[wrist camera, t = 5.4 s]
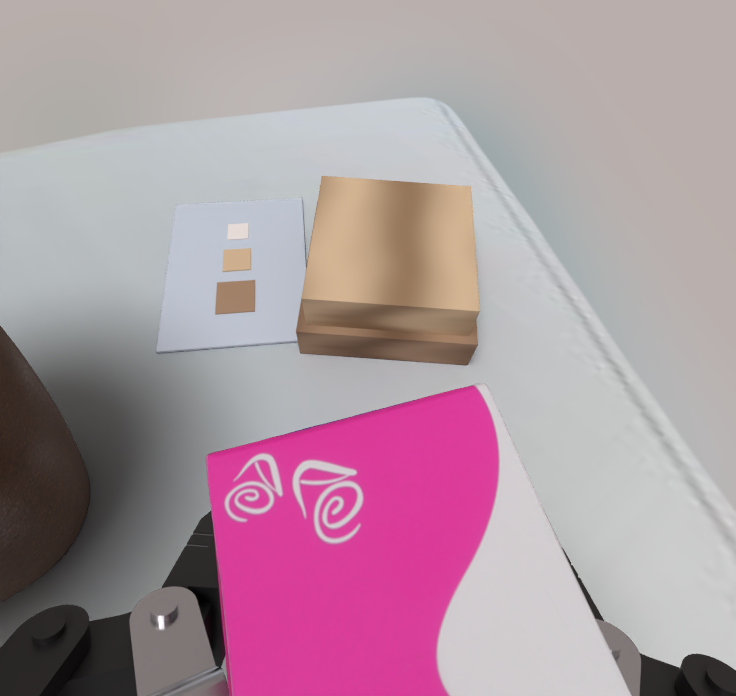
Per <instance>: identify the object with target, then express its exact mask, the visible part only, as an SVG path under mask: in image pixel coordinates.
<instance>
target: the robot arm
mask: <svg viewBox="0 0 736 696" xmlns="http://www.w3.org/2000/svg"><path fill="white" fill-rule="evenodd" d="M562 549H563V548H562ZM563 551H564V549H563ZM564 554H565V556H566V558H567V560H568V562H569V564H570V566H571V568H572V571H573V573H574V575H575V577H576V579H577V581H578V583H579V585H580V588H581V590H582V592H583V594H584V596H585V598H586V600H587V602H588V604H589V606H590V609H591V611H592V613H593V615H594V617H595V619H596V621H597V623H598V625H599V627H600V630H601V632H602V634H603V636H604V638H605V640H606V642H607V644H608V646H609V648H610V651H611V653H612V655H613V657H614V659H615V661H616V663H617V665H618V667H619V669H620V672H621V674H622V676H623V678H624V680H625V682H626V685H627V687H628V689H629V691H630V693H631V695H632V696H736V670H734V669H733V668H731V667H730V666H728V665H727V664H725V663H723V662H721V661H719V660H717V659H715V658H712V657H710V656H706V655H702V654H691V655H688V656H686V657H685V658H684V659H683V661H682V664H681V667H680V668H679V667H676V666H673V665H670V664H667V663H664V662H661V661H658V660H656V659H653V658H650V657H647V656H645V655H642V654H640V653H639V651H638V649H637V647H636V646H635V644H634V643H633V642H632V640H631V639H630V638H629V637H628V636H627V635H626V634H625V633H623V632H622V631H621V630H620V629H618V628H617V627H615V626H613V625H611V624H610V623H607V622H605V621H604V620H603V618H602V616H601V614H600V613H599V611H598V609H597V607H596V606H595V604H594V602H593V600H592V599H591V597H590V595H589V593H588V592H587V590H586V588H585V586H584V585H583V583H582V581H581V579H580V578H578V574H577V572H576V571H575V569H574V567H573V565H571V562H570V560H569V558H568V556H567V555H566V553H565V551H564ZM225 654H226V652H225V643H224V634H223V624H222V614H221V604H220V593H219V581H218V570H217V560H216V549H215V539H214V529H213V520H212V512H211V511H210V512H209V513H208V514H207V515H205V516H204V517H203V518H202V519H201V520H200V522H199V523H198V525H197V527H196V529H195V530H194V532H193V535H192V536H191V537H190V539H189V541H188V543H187V546H185V548H184V550H183V551H182V553H181V555H180V557H179V558H178V560H177V562H176V563H175V565H174V567H173V569H172V570H171V572H170V574H169V576H168V577H167V579H166V581H165V583H164V584H163V586H162V588H161V589H159V590H156V591H154V592H152V593H150V594H148V595H147V596H145V597H144V598H143V599H142V600H141V601H139V603H138V604H137V605H136V606H135V608H134V609H133V611H132V612H129V613H127V614H123V615H119V616H115V617H110V618H105V619H99V620H94V621H89V616H88V614H87V612H86V611H85V610H84V609H83V608H81V607H79V606H75V605H61V606H56V607H53V608H50V609H47V610H44V611H42V612H40V613H38V614H36V615H35V616H33V617H31V618H30V619H28V620H27V621H26V622H25V623H23V624H22V625H21V626H20V627H19V628H18V629H17V630H16V631H15V632H14V634H13V635H12V636H11V637H10V638H9V639H8V640H7V641H6V642H5V644H4V645H3V646H2V647H1V648H0V696H229V688H228V685H227V681H226V678H225V675H224V672H223V670H222V668H221V666H222V663H223V660H224V657H225ZM217 667H219V668H217Z"/></svg>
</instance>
